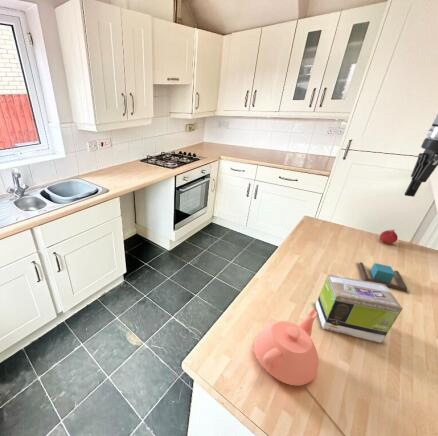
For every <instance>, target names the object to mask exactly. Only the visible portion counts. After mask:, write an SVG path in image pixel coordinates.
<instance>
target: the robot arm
mask: <svg viewBox="0 0 438 436" xmlns="http://www.w3.org/2000/svg"><path fill="white" fill-rule="evenodd" d="M427 132H428V133H427V134H426V138H424V139H423V142H422V144H421V145H420V148H421V149H424V150H423V152H422V153H421V152H420V153H418V156H417V159H416V162H415V165H414V167H413V169H412V172H411V175H410V178H411V180H410V183H409V185H408V186H407V188H406V190H405V192H404V194H403V195H404V196H406V197H415V196H416V194H417V193H418V192H417V191H418V190H419V188H420V187H421V185H422V183H426V182H427V181H428V179H429V178H430V177H431V175H432V174H433V172H434V171H435V170H436V168H437V167H438V113H437V114H436V116H435V118H434V120H433V122H432V124H431V126H430V128H428V129H427Z"/></svg>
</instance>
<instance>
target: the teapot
mask: <svg viewBox="0 0 438 436" xmlns="http://www.w3.org/2000/svg"><path fill="white" fill-rule="evenodd" d="M317 315H318V311H317V310H315V309H314V310H311V311H310V312H308V315H307V316H306V317H305V318H304V319H303V320H302V322H301V323H299V324H298V325H297V324H295V323H293V322H291V321H287V320H284V321H283V320H282V321H276V322H272V323H270V324H267V325H266V326H265V327H263V328H262V329H261V330H260V331H259V332H258V333H257V335H256V337H255V339H254V341H253V351H254V355H255V357H256V360H257V362H259V364H260V365H261V367H262V368H263V369H264V370H265V371H266V372H267V373H268V374H269V375H270V376H272V377H273V378H274V379H276V380H278V381H279V382H282V383H284V384H287V385H290V386H303V385H306V384H309V383H310V382H312V381H313V380H314V379H315V377H316V375H317V373H318V370H319V354H318V351H317V347H316V345H315V343H314V341H313V339H312V338H311V337H312V333H313V324H314V321H315V319H316V317H317Z"/></svg>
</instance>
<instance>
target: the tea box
mask: <svg viewBox="0 0 438 436" xmlns="http://www.w3.org/2000/svg"><path fill="white" fill-rule="evenodd" d="M315 308H316V312H317V315H318V317H319V322H320V324H321V327H322V329H323V330H328V331H331V332H335V333H339V334H344V335H348V336H352V337H354V338H355V337H356V338H359V339H364V340H368V341H372V342H376V343H383V341H384V339H386V337H387V334H388V333H389V331H390V330H391V328H392V327H393V325H394V324H395V322H396V320H397V319H398V317H399V316H400V314H401V312H402V310H403V307H402V305H401V304H400V302H398V300H397V298H396V297H395V296H394V295H393V293H392V291H391V290H390V288H389V287H387V286H386V285H385V284H380V283H374V282H369V281H364V279H363V280H362V279H357V278H350V277H346V276H345V277H344V276H339V275H333V274H327V276H326V279H325V280H324V283H323V286H322V288H321V291H320V293H319V295H318V298H317V301H316V303H315Z"/></svg>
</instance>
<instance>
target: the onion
mask: <svg viewBox="0 0 438 436" xmlns="http://www.w3.org/2000/svg"><path fill="white" fill-rule="evenodd" d="M395 231H396V229H394V228H392V229H388V230H383V231H382V232H381V233H380V234H379V240H380V241H381V242H382V243H383V244H385V245H389V244H394V243H396V242H397V241H398V234H397V233H396V232H395Z"/></svg>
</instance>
